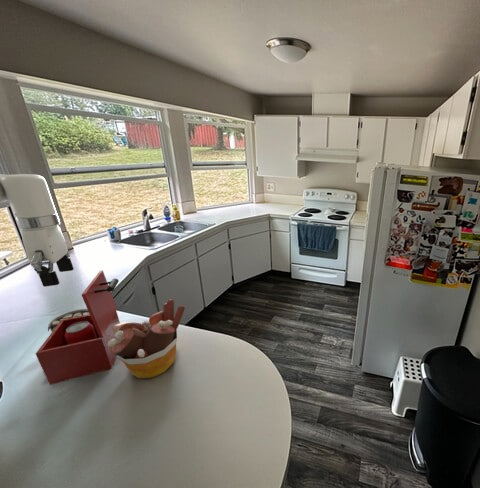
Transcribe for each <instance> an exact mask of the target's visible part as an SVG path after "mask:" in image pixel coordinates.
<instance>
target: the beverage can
mask: <svg viewBox="0 0 480 488" xmlns="http://www.w3.org/2000/svg"><path fill="white" fill-rule="evenodd" d="M65 338H66V341H67V344H68V345H70V344H74V343H79V342H83V341H88V340H92V339H97V336H96V333H95V330H94V327H93V325H91V324H90V323H89V322H87V321H83V322H78V323H75V324H73V325H71V326H69V327H68V328H67V329H66V333H65Z"/></svg>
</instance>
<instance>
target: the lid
mask: <svg viewBox="0 0 480 488" xmlns="http://www.w3.org/2000/svg"><path fill="white" fill-rule="evenodd" d="M119 282H120V281H119V279H118V278H112V279H111V280H108V281H107V278H106V275H105V272H104V270H99V271H98V273H97V274H96V275H95V276H94V277H93V279H92V280H91V282H90V283H89V284H88V285H87V287H86V288H85V289H84V291H83V292H82V293H81V297H82V300H83V302H84V304H85V307H86V309H88V311H89V314H90V316H91V319H92V321H93V323H94V326H95V328H96V330H97V333H98V335H99V337H100V338H102V337H103V336H104V334H105V332H106V330H107V328H108V326H109V324H110V321H111V319H112V317H113V315H114V313H115V311H117V309H118V307H117V304H116V302H115V299H114V297H113V294H112V292H114V290H115V289H116V287H117V285H118V284H119Z"/></svg>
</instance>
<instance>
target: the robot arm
mask: <svg viewBox="0 0 480 488" xmlns="http://www.w3.org/2000/svg"><path fill="white" fill-rule="evenodd" d="M5 202H8V203H9V205H10V207H11V210H12V213H13V215H14V218H15V220H16V223H17V226H18V228H19V230H21V238H22V244H23V246H24V251H25V253H26V257H27V260H28V262H29V264H30V266H31V267H32V268H33V271H35V272H36V274H37V275H38V276H39V279H40V282H41V284H42V286H43V287H45V288H46V287H52V286H58V285H60V279H59V277H58V275H57V272H56V270H54V264H56V267H57V269H58V272H60V273H63V272H65V273H66V272H71V271H73V270H75V269H74V266H73V262H72V260H71V255H70V253H69V248H68V244H67V241H66V239H65V237H64V235H63V232H62V229H61V227H60V225H61V222H60V218H59V215H58V213H57V209H56V207H55V204H54V201H53V198H52V195H51V193H50V189H49V186H48V183H47V181H46V179H45V177H44V176H42V175H40V174H34V173H19V174H18V173H17V174H16V173H15V174H4V173H3V174H2V173H0V204H1V203H5Z"/></svg>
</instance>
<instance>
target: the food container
mask: <svg viewBox="0 0 480 488" xmlns="http://www.w3.org/2000/svg"><path fill="white" fill-rule="evenodd" d="M84 315H90V314H89V311H88V309H87V308H83V309H81V308H80V309H75V310H72V311H68V312H64V313H63V314H61V315H58V316H56V317H55V318H53V319H52V320H51V321H50V322H49V323H48V326H47V331H48V332H50V331H51V333H52V332H53V330H54V329H55V328H56V326H57V325H58V324H59V323H60V321H61V320H63V319H68V318H74V317H79V316H84Z"/></svg>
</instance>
